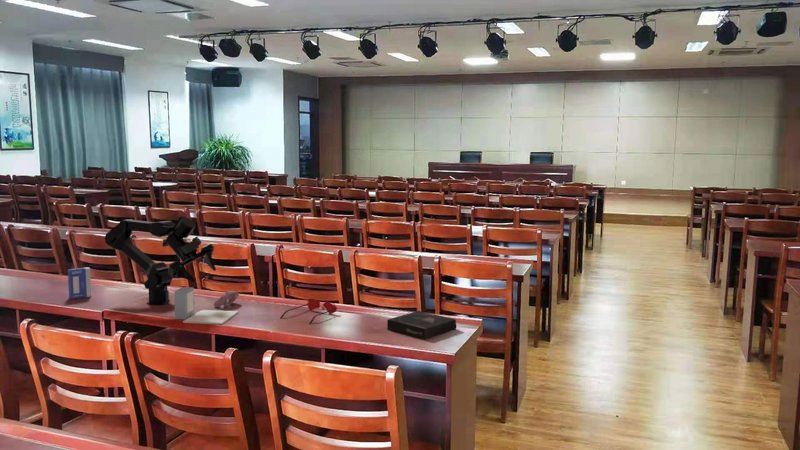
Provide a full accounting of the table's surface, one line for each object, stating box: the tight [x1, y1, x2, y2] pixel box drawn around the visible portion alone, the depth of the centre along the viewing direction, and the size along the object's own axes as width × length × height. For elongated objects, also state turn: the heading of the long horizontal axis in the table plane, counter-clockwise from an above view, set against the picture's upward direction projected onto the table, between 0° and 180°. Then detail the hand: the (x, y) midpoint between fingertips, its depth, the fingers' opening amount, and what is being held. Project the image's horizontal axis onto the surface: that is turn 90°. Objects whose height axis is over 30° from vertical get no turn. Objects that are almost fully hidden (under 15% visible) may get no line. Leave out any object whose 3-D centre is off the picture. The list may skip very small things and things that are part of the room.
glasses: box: [279, 298, 338, 325], centre depth 228 cm, size 14×16×5 cm
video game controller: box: [213, 290, 240, 308], centre depth 242 cm, size 10×5×7 cm, turn 161°
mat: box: [182, 309, 239, 325], centre depth 224 cm, size 14×16×1 cm
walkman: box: [67, 266, 92, 300], centre depth 252 cm, size 8×3×12 cm, turn 134°
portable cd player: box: [386, 310, 457, 341], centre depth 213 cm, size 16×17×4 cm
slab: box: [173, 286, 195, 320], centre depth 225 cm, size 4×7×10 cm, turn 174°
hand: (205, 275), depth 235 cm, fingers open, 9 cm apart
